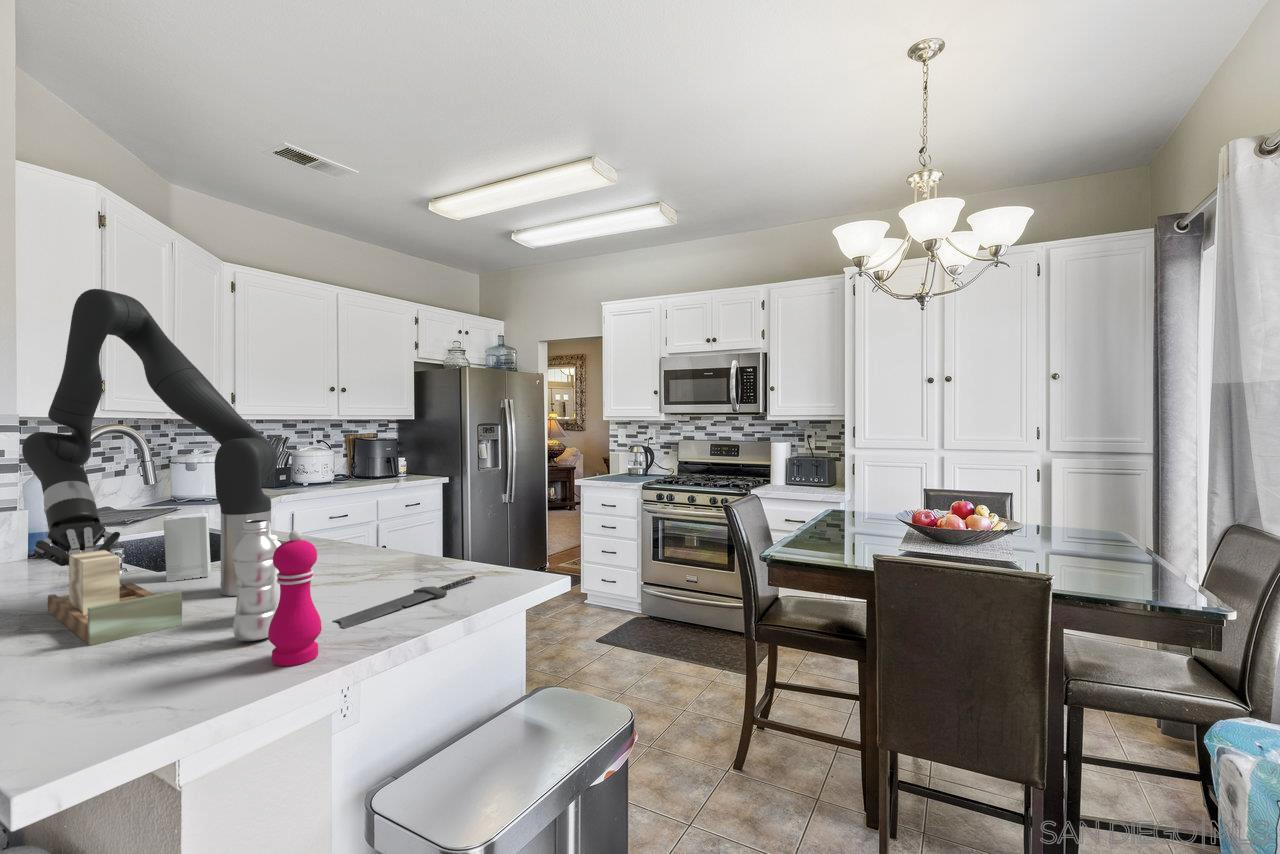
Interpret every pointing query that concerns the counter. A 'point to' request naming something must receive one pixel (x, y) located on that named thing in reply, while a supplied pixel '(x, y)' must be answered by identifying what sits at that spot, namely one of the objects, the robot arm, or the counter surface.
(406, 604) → the toy broadsword
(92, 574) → the maple block
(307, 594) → the pepper mill
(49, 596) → the trap deck
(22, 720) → the counter surface
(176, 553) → the skincare box
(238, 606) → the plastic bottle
